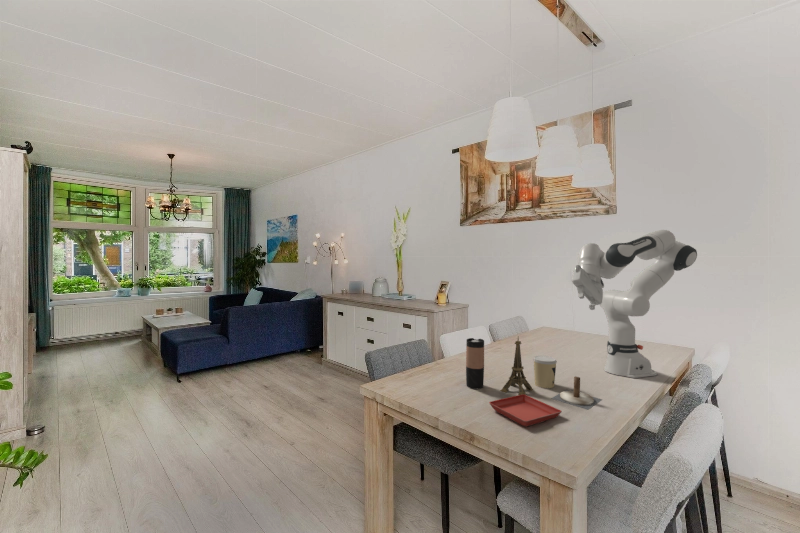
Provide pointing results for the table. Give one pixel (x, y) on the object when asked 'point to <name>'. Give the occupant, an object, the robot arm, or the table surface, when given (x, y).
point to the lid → (576, 395)
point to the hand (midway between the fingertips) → (586, 303)
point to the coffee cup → (544, 371)
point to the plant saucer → (525, 409)
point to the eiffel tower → (517, 370)
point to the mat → (575, 404)
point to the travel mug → (474, 363)
